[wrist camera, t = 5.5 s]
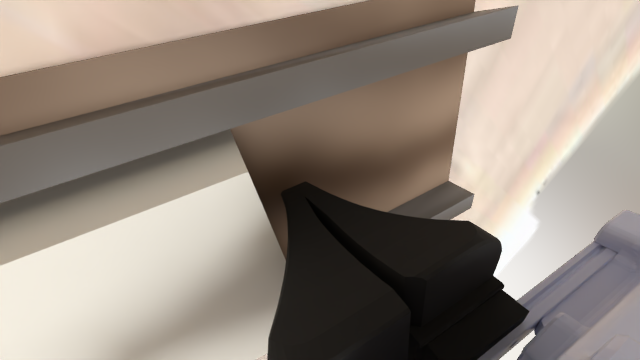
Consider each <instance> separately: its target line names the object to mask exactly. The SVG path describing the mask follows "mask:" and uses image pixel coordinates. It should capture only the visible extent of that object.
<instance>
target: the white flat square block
mask: <svg viewBox="0 0 640 360" xmlns="http://www.w3.org/2000/svg"><path fill="white" fill-rule="evenodd" d="M285 265H286V260H285V257H284V255H283V253H282V250H281V248H280V246H279V243H278V241H277V239H276V236H275V234H274V231H273V229H272V227H271V224H270V222H269V220H268V217H267V215H266V213H265V210H264V208H263V205H262V203H261V201H260V198H259V196H258V194H257V191H256V189H255V187H254V184H253V182H252V180H251V177H250V175H249V172H248V170H247V168H246V165H245V163H244V161H243V158H242V156H241V154H240V152H239V149H238V147H237V145H236V142H235V140H234V138H233V135H232V133H231V131H230V129H228V130H225V131H222V132H219V133H216V134H213V135H210V136H207V137H204V138H201V139H197V140H194V141H191V142H188V143H185V144H182V145H179V146H176V147H173V148H170V149H166V150H163V151H160V152H157V153H154V154H151V155H148V156H145V157H142V158H139V159H135V160H132V161H129V162H126V163H123V164H120V165H117V166H114V167H111V168H108V169H105V170H101V171H98V172H95V173H92V174H89V175H86V176H83V177H80V178H77V179H74V180H70V181H67V182H64V183H61V184H58V185H55V186H52V187H49V188H46V189H43V190H39V191H36V192H33V193H30V194H27V195H24V196H21V197H18V198H15V199H12V200H8V201H5V202H2V203H0V360H257V359H259V358H261V357H262V356H264V355H266V354H267V353H268V337H269V334H270V330H271V327H272V323H273V320H274V316H275V313H276V309H277V306H278V302H279V297H280V292H281V288H282V283H283V278H284V272H285Z"/></svg>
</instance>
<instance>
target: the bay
mask: <svg viewBox="0 0 640 360" xmlns="http://www.w3.org/2000/svg"><path fill="white" fill-rule="evenodd" d="M474 6H475V0H369V1H365V2H360V3H355V4H350V5H345V6H341V7H336V8H331V9H326V10H321V11H317V12H312V13H307V14H302V15H297V16H293V17H288V18H283V19H278V20H274V21H269V22H264V23H259V24H254V25H250V26H245V27H240V28H235V29H230V30H226V31H221V32H216V33H211V34H206V35H202V36H197V37H192V38H187V39H182V40H178V41H173V42H168V43H163V44H158V45H154V46H149V47H144V48H139V49H134V50H130V51H125V52H120V53H115V54H110V55H106V56H101V57H96V58H91V59H87V60H82V61H77V62H72V63H67V64H63V65H58V66H53V67H48V68H43V69H39V70H34V71H29V72H24V73H19V74H15V75H10V76H5V77H0V203H2V202H5V201H8V200H12V199H15V198H18V197H21V196H24V195H27V194H30V193H33V192H36V191H39V190H43V189H46V188H49V187H52V186H55V185H58V184H61V183H64V182H67V181H70V180H74V179H77V178H80V177H83V176H86V175H89V174H92V173H95V172H98V171H101V170H105V169H108V168H111V167H114V166H117V165H120V164H123V163H126V162H129V161H132V160H135V159H139V158H142V157H145V156H148V155H151V154H154V153H157V152H160V151H163V150H166V149H170V148H173V147H176V146H179V145H182V144H185V143H188V142H191V141H194V140H197V139H201V138H204V137H207V136H210V135H213V134H216V133H219V132H222V131H225V130H228V129H230V131H231V133H232V135H233V138H234V140H235V142H236V145H237V147H238V149H239V152H240V154H241V156H242V158H243V161H244V163H245V165H246V168H247V170H248V172H249V175H250V177H251V180H252V182H253V184H254V187H255V189H256V191H257V194H258V196H259V198H260V201H261V203H262V205H263V208H264V210H265V213H266V215H267V217H268V220H269V222H270V224H271V227H272V229H273V231H274V234H275V236H276V239H277V241H278V243H279V246H280V248H281V250H282V253H283V255H284V257H285V260H286V257H287V243H288V226H287V214H286V208H285V205H284V202H283V200H282V197H281V192H282V191H284V190H286V189H288V188H291V187H293V186H296V185H298V184H300V183H303V182H305V181H306V182H308V183H310V184H312V185H314V186H316V187H318V188H320V189H322V190H324V191H326V192H328V193H330V194H333V195H335V196H337V197H339V198H342V199H344V200H347V201H350V202H352V203H355V204H358V205H361V206H364V207H368V208H372V209H375V210H379V211H383V212H388V213H393V214H398V215H404V216H411V217H418V218H427V219H438V220H450V219H452V218H454V217H456V216H457V215H459V214H461V213H463V212H464V211H466V210H468V209H470V208H471V206H472V202H473V197H474V194H473V193H471V192H469V191H467V190H465V189H463V188H461V187H459V186H457V185H455V184H453V183H452V182H450V181H448V180H449V173H450V166H451V160H452V153H453V146H454V140H455V133H456V126H457V120H458V113H459V106H460V100H461V93H462V86H463V80H464V73H465V66H466V59H467V53H468V52H470V51H473V50H476V49H479V48H482V47H486V46H489V45H492V44H495V43H498V42H501V41H504V40H507V39H510V38H511V35H512V31H513V27H514V22H515V18H516V14H517V10H518V6H513V7H505V8H498V9H491V10H484V11H477V12H474Z"/></svg>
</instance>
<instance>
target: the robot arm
mask: <svg viewBox="0 0 640 360" xmlns="http://www.w3.org/2000/svg"><path fill="white" fill-rule="evenodd" d="M281 197H282V200H283V202H284V205H285V208H286V214H287V226H288V243H287V257H286V265H285V272H284V278H283V283H282V288H281V292H280V297H279V302H278V306H277V309H276V313H275V316H274V320H273V323H272V327H271V330H270V334H269V337H268V360H499V359H500V358H501V357H502V356H503V355H504V354H506V353H507V352H508V351H509V350H511V349H512V348H513V347H514V346H515V345H516V344H518V343H519V342H520V341H521V340H522V339H523V338H525V337H526V336H527V335H528V334H529V333H531V332H532V331H533V330H534V329H535V330H534V331H535V335H536V336H535V337H534V338H533V339H532V340H531V341H530V342H529V343H528V344H527V345H526V346H525V347H524V348H523V351H522V353H521V354H520V356H519V357H518V359H517V360H640V215H639V214H637V213H634V212H632V211H629V210H623V211H621V212H620V213H619V214H618V215H616V216H615V217H614V218H612V219H611V220H610V221H608V222H607V223H606V224H605V225H604V226H603V227H602V228H601V230H600V231H599V232H598V233H597V235H596V236H595V238H594V241H593V242H592V243H591V244H590V245H588V246H587V247H586V248H584V249H583V250H582V251H580V252H579V253H578V254H577V255H575V256H574V257H573V258H571V259H570V260H569V261H567V262H566V263H565V264H564V265H562V266H561V267H560V268H558V269H557V270H556V271H555V272H553V273H552V274H551V275H549V276H548V277H547V278H545V279H544V280H543V281H542V282H540V283H539V284H538V285H536V286H535V287H534V288H533V289H531V290H530V291H529V292H527V293H526V294H525V295H524V296H522V297H521V298H520V299H519V300H517V301H516V300H515V299H513V298H512V297H511V296H509V295H508V294H506V292H504V291H503V290H502V289H503V288H504V285H503V283H502V282H500V281H499V280H498V279H497V278H495V277H494V276H493V274H494V271H495V269H496V266H497V264H498V261H499V259H500V255H501V252H502V247H501V242H500V241H499V240H498V239H497V238H496V237H494V236H493V235H491V234H489V233H488V232H486V231H484V230H483V229H481V228H480V227H478V226H476V225H475V224H473V223H471V222H470V221H458V220H438V219H427V218H418V217H411V216H404V215H398V214H393V213H388V212H383V211H379V210H375V209H372V208H368V207H364V206H361V205H358V204H355V203H352V202H350V201H347V200H344V199H342V198H339V197H337V196H335V195H333V194H330V193H328V192H326V191H324V190H322V189H320V188H318V187H316V186H314V185H312V184H310V183H308V182H306V181H305V182H303V183H300V184H298V185H296V186H293V187H291V188H288V189H286V190H284V191H282V192H281Z"/></svg>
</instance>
